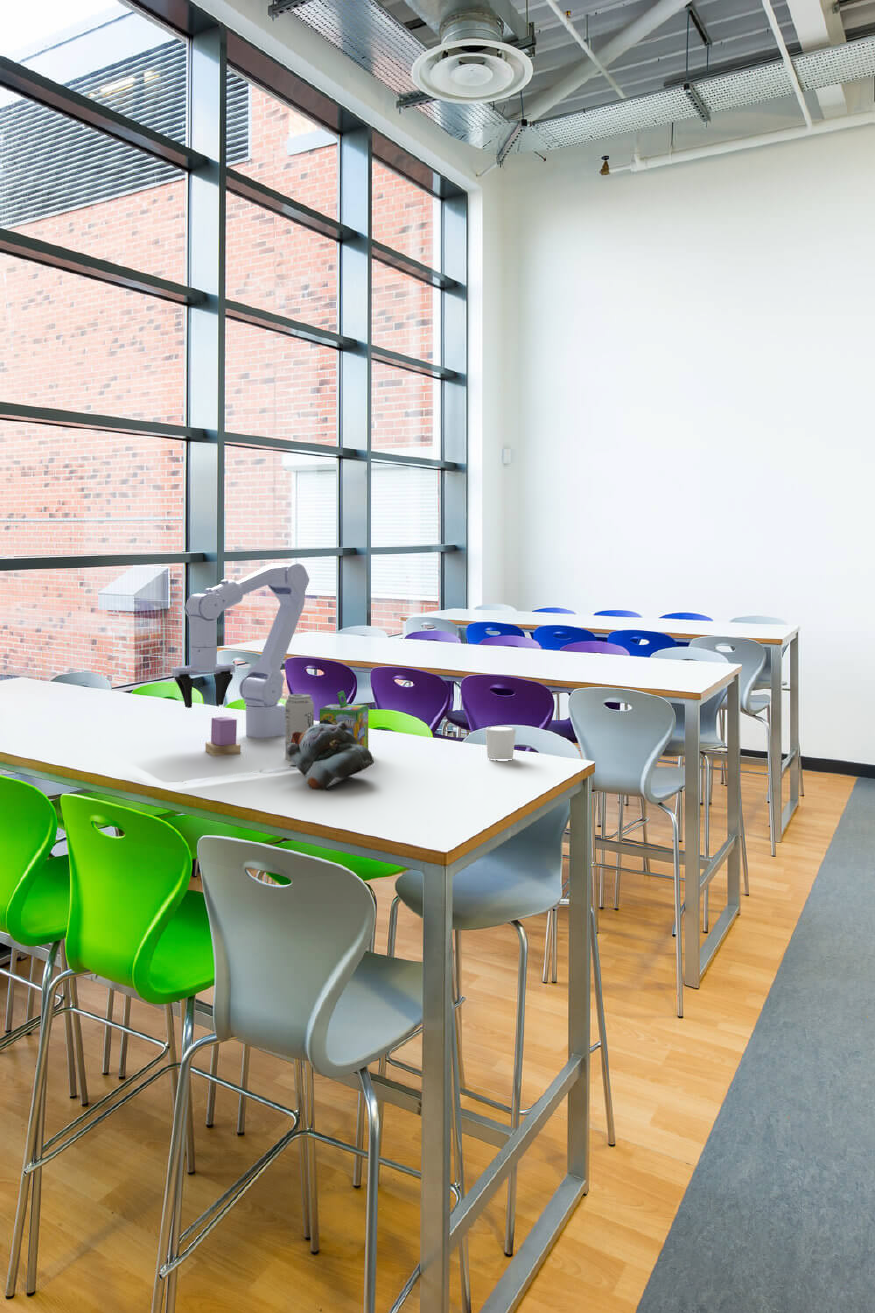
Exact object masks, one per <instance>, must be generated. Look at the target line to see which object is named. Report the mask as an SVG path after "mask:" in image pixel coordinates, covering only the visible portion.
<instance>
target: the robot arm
mask: <svg viewBox="0 0 875 1313" xmlns="http://www.w3.org/2000/svg"><path fill="white" fill-rule="evenodd" d="M309 577H310V576H309V575H308V572H307V569H306V568H305V566H304V565H302V564H300V563H278V562H277V563H276V562H272V563H270V564H267V565H265V566H262V567H261V568H260V569H258V570H256V571H254V572H252V573H251V574H248V575H247V576H245V577H244V578H241V579H240V580H238V581H234V580H233V579H222V580H220V581H219V582H220V584H218V585H215V586H213V587H207V588H204V591H203V593H193V594H191V595H190V596H189V597H188V599H187V600H186V604H185V605H184V606H183V608H184V613H185V615H186V617H188V623H189V634H190V635H189V638H190V639H189V641H190V642H189V643H190V646H189V647H190V665H183V666H174V667H171V670H170V671H171V677H174V681H175V682H176V684H177V686H178V688H179V691H180V693H181V696H182V700H183V703H184V707H185V708H187V709H191V708H193V699H192V698H193V696H192V695H193V684H194V678H192V677H191V676H198V675H199V676H200V675H212V674H213V678H214V682H215V702H216V705H219V706H223V705H224V701H225V696H226V693H227V690H228V688H229V687H230V686H229V685H231V684H230V683H231V681H232V680H233V678H234V674H233V673H236V664H234V663H218V661H217V619H218V618H219V617H220V615H221V613H222V612H224V611H226V610H227V609H229V608H231V607H233V606H235V605H237V604H240V603H241V602H242V601H243V598H244V595H246V594H250V593H251V592H255V591H256V590H258V589H260V588H263V587H265V586H268V588H269V590H270V591H271V592H272V594H273V595H274V596H275V598H276V599H277V600H278V602H279V603H280V606H279V608H278V610H277V613H276V615H275V618H274V621H273V623H272V626H271V629H270V632H269V634H268V637H267V639H266V642H265V644H264V646H263V649H262V652H261V655H260V657H259V660H258V662H256V663H255V664H254V665H253V666H251V667H250V668H249V669H248V672H247V673H246V675H245V676H244V677H243V678H242V679H241V681H240V683H239V688H238V689H239V695H240V697H241V698H242V699H243V700H244V704H245V736H246V737H247V738H254V739H266V738H273V737H279V736H284V737H285V705H284V704H283V703H281V702H279V701H280V700H281V698H282V697H283V692H284V690H283V689H284V688H283V686H284V682H285V679H286V678H285V677H284V674H283V673H282V671H281V668H282V665H283V662H284V661H285V657H286V655H287V652H288V649H289V646H290V645H291V644H290V643H292V642H291V641H292V638H293V636H294V633H295V631H296V629H297V625H298V623H299V620H300V617H301V615H302V613H303V609H304V607H305V603H306V602H305V600H306V591H307V588H308V585H309V582H310V578H309Z"/></svg>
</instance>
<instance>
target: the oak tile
mask: <svg viewBox="0 0 875 1313" xmlns="http://www.w3.org/2000/svg"><path fill="white" fill-rule="evenodd" d="M204 745H205V747H204V748H205V752H206V753H208V754H210V755H211V756H213V757H218V756H226V755H236V754H239V755H240V754H241V751H242V749H241V744H239V743H238V742H236V744H231V745H222V746H219V745H216V744H214V743H211V741H209V742H205V744H204Z"/></svg>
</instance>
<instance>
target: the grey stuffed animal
mask: <svg viewBox="0 0 875 1313" xmlns="http://www.w3.org/2000/svg"><path fill="white" fill-rule="evenodd" d="M286 752H287V754H288V755H289V757H290V759H291V762H292V764H293V765H296V767H295V768H297V769H298V770H299V772H301V773H302V775H303V777H305V779H306V783H307V785H308V786H309V788H311V789H315V790H321V791H326V790H327V789H329V788H330V787H331V786H333V785H336V784H337V783H339V782H341V781H344V780H345V779H347V778H349V777H351V776H353V775H355V774H358V773H360V772H362V771H363V770H366V769H367V768H368V767H370V766H372V765H373V764H374V763H375V761H374V757H373V755H372V753H371V751H370V750H369V748H368V749H367V748H366V747H364V746H362V745H358V744H357V741H356V738H355V737H354V736H353V734H352V733H351V732H350V731H349V730H348V728H347V725H346V724H345V723H344V722H340V723H338V724H337V725H336V726H335V725H334V724H332V723H331V722H330V721H328V720H326V719H323V720H321V722H320V721H319V723H316V724H315V723H314V725H313V726H312V727H310V728H308V729H307V730H306V731H305V732H301V733H300V732H294V733H293V734H292V740H291V742H290V743H289V745H288V746H287V747H286Z"/></svg>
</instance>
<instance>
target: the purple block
mask: <svg viewBox="0 0 875 1313" xmlns="http://www.w3.org/2000/svg"><path fill="white" fill-rule="evenodd" d="M237 721H238V720H237V719H236V718H233V717H230V716H220V717H219V716H218V717H211V727H210V729H211V731H210V733H211V734H210V740H211V741H210V742H211V743H214V744H216V745H219V746H222V745H231V744H236V743H237V731H238V730H237V729H238V728H237V726H238V725H237V724H238V722H237Z"/></svg>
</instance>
